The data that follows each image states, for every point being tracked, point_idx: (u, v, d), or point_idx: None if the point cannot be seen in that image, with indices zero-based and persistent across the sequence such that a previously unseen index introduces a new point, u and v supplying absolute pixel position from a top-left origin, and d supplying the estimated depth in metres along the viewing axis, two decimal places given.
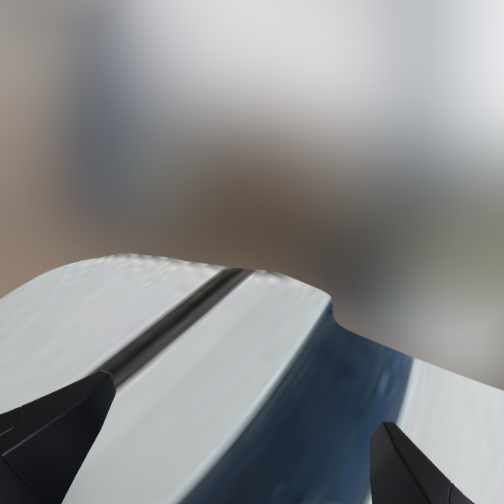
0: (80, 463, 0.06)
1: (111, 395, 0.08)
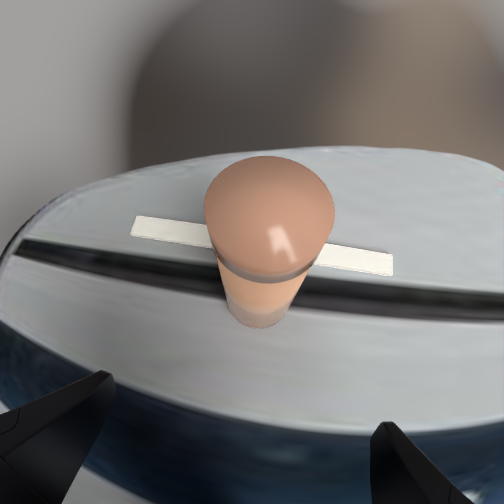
0: (80, 463, 0.06)
1: (111, 395, 0.08)
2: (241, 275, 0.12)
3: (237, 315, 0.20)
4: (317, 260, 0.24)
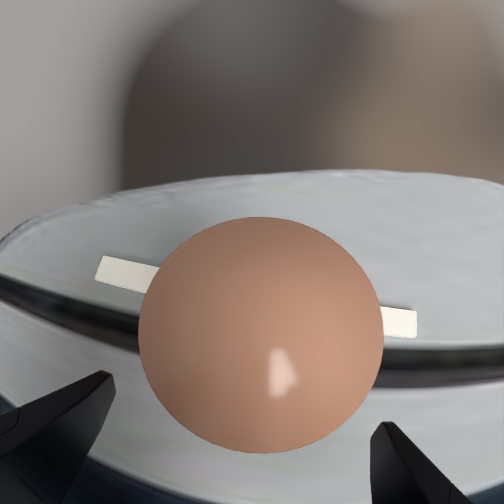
0: (80, 463, 0.06)
1: (111, 395, 0.08)
2: None
3: None
4: None
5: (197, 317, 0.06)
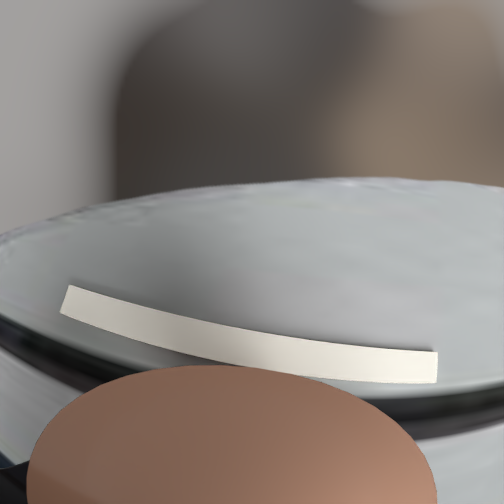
0: None
1: None
2: None
3: None
4: (333, 374, 0.14)
5: None
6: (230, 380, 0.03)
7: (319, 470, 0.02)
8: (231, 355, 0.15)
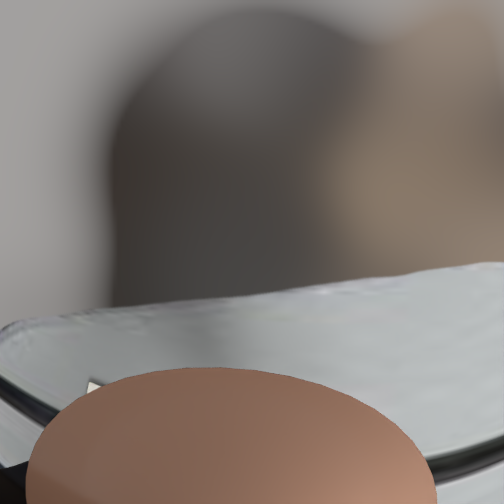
0: None
1: None
2: None
3: None
4: None
5: None
6: (229, 383, 0.03)
7: (319, 473, 0.02)
8: None
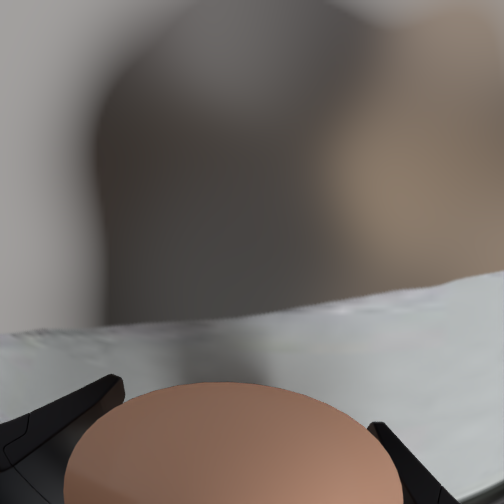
0: None
1: (121, 399, 0.08)
2: None
3: None
4: None
5: None
6: (235, 393, 0.03)
7: (303, 462, 0.03)
8: None
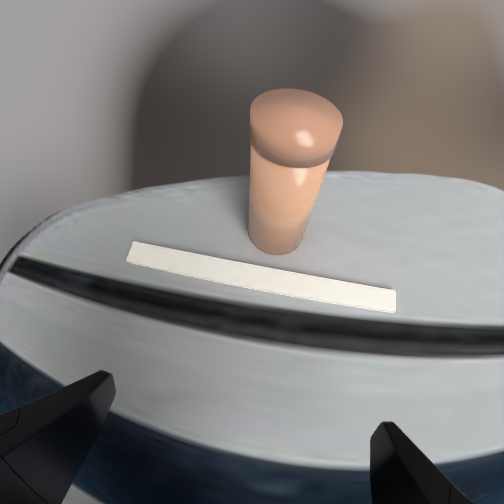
0: (80, 463, 0.06)
1: (111, 395, 0.08)
2: (275, 160, 0.15)
3: (259, 237, 0.24)
4: (318, 296, 0.23)
5: (273, 108, 0.15)
6: (294, 90, 0.16)
7: (311, 99, 0.15)
8: (251, 282, 0.23)
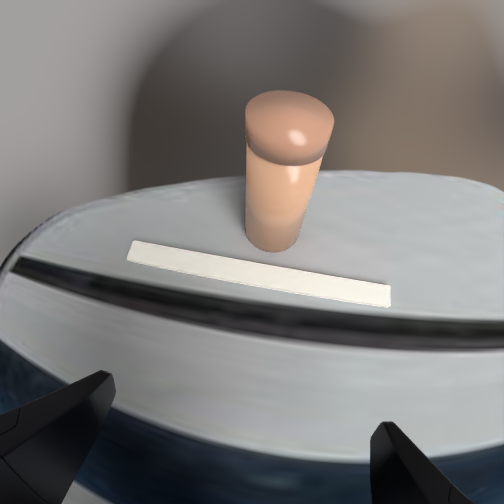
0: (80, 463, 0.06)
1: (111, 395, 0.08)
2: (270, 158, 0.16)
3: (255, 234, 0.24)
4: (314, 292, 0.24)
5: (267, 109, 0.15)
6: (288, 91, 0.16)
7: (303, 100, 0.16)
8: (249, 278, 0.24)
